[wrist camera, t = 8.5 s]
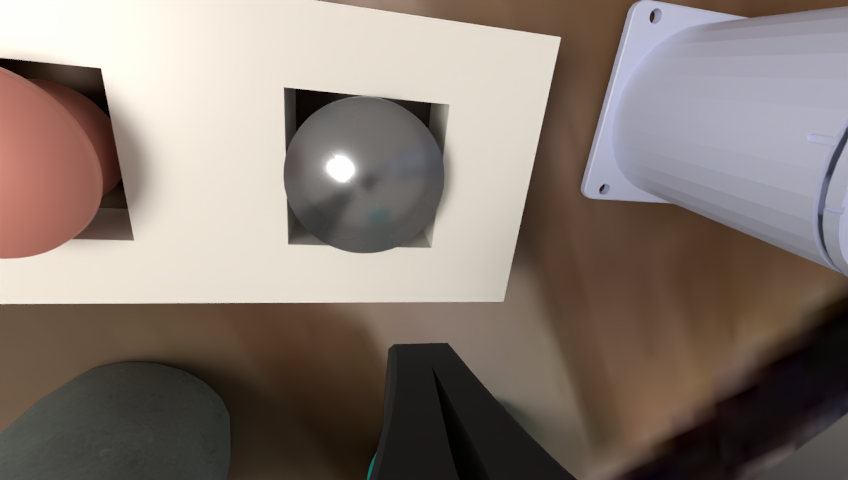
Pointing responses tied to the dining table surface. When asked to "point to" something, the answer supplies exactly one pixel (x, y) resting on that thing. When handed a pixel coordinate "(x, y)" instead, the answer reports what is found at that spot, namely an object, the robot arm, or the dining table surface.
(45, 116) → the red plug
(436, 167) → the grey plug
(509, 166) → the socket block
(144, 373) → the bottle
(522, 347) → the dining table surface
